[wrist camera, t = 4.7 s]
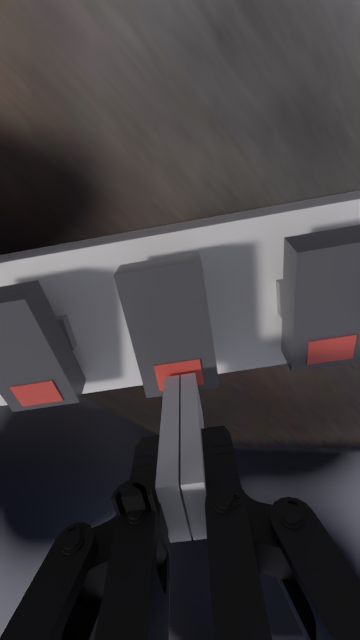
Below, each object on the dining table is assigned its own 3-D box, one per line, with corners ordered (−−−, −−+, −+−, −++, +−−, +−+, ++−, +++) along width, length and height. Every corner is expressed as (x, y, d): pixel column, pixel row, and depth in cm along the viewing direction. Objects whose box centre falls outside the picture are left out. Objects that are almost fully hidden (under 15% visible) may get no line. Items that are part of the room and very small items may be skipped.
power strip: (-135, 279, 21) (-214, 302, 17) (360, 190, 19) (413, 191, 15) (-71, 387, 25) (-124, 430, 20) (353, 322, 23) (395, 354, 18)
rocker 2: (119, 265, 16) (113, 276, 14) (198, 251, 15) (201, 260, 14) (149, 378, 19) (146, 399, 17) (216, 368, 18) (219, 388, 17)
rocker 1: (-39, 293, 16) (-61, 314, 14) (38, 280, 15) (24, 300, 14) (24, 388, 20) (12, 413, 18) (86, 379, 19) (79, 403, 18)
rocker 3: (283, 237, 15) (298, 253, 13) (371, 222, 14) (396, 236, 13) (281, 349, 19) (291, 372, 17) (349, 339, 18) (366, 361, 17)
